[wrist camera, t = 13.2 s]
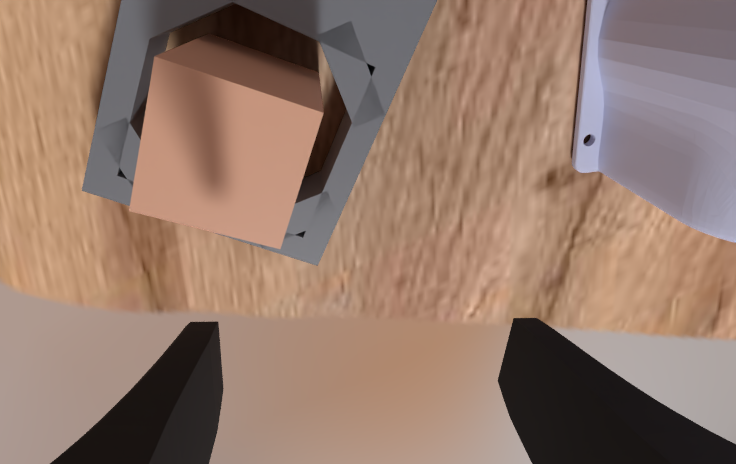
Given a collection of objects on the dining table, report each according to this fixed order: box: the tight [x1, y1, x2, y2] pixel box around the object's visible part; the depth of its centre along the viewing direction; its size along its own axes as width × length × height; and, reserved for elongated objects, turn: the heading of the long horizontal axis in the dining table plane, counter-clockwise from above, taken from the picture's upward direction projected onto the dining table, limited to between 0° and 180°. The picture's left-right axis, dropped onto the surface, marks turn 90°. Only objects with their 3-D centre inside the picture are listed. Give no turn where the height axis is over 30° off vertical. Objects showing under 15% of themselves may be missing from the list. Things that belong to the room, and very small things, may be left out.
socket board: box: [82, 0, 437, 266], centre depth 16 cm, size 16×9×2 cm, turn 156°
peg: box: [129, 34, 324, 249], centre depth 16 cm, size 4×4×7 cm
